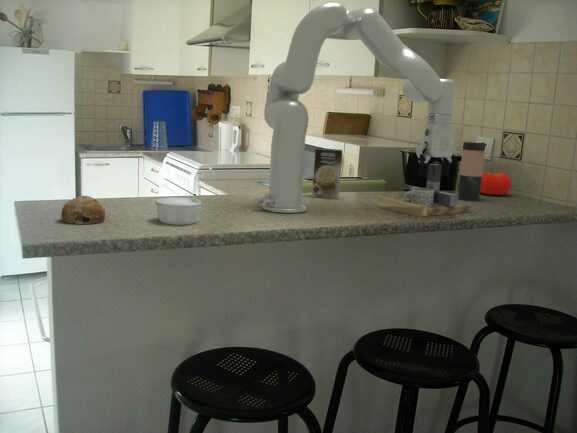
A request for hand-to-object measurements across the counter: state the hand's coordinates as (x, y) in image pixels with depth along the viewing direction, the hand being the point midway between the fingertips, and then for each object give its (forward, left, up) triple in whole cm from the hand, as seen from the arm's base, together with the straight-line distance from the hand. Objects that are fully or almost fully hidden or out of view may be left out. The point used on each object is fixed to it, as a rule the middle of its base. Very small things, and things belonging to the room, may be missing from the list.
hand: (433, 175), depth 196 cm
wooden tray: (-2, 0, -11) cm, 11 cm away
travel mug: (+31, +10, -11) cm, 34 cm away
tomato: (+52, +16, -11) cm, 55 cm away
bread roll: (-103, +18, -11) cm, 105 cm away
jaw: (0, 0, -8) cm, 8 cm away
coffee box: (-18, +30, -11) cm, 37 cm away
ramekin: (-82, +9, -11) cm, 84 cm away
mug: (-6, 0, -11) cm, 13 cm away
